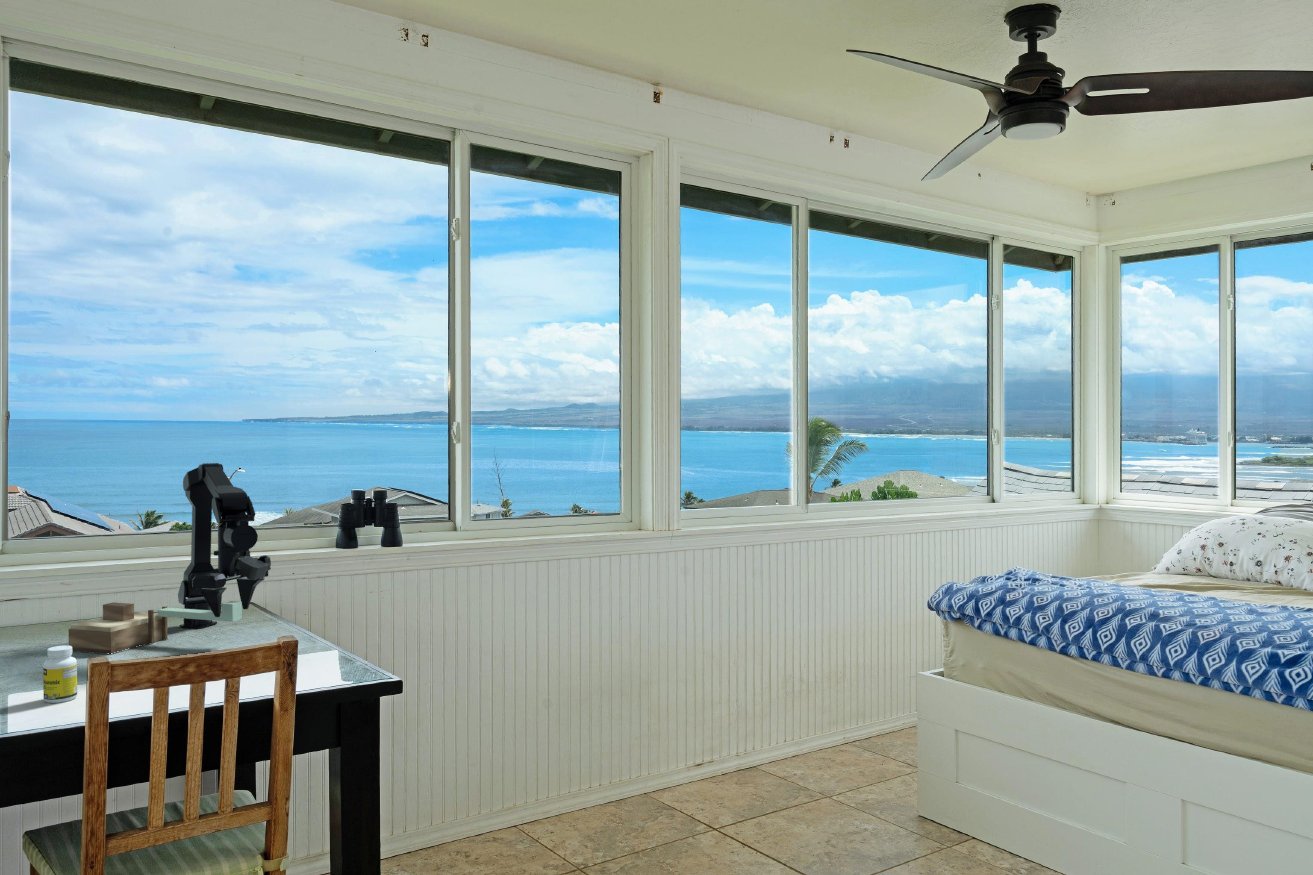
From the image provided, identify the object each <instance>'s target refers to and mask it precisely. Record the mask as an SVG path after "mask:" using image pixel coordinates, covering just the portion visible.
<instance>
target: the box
mask: <svg viewBox="0 0 1313 875" xmlns="http://www.w3.org/2000/svg"><path fill="white" fill-rule="evenodd" d="M164 608H168V606H162V607H161V609H164ZM147 613H148V622H147V623H143V624H140V625H136V626H132V627H128V628H124V629H120V630H117V631H113V632H104V631H91V630H78V629H70V628H68V646H72V652H76V651H80V652H79V653H88V652H94V653H93V654H100V653H109V654H108V655H112V654H111V653H114V652H117V651H121V652H123V651H122V650H125V649H128V648H132V649H134V648H133V647H135V648H137V647H136V646H139V645H142V646H145V645H144V644H146V645H149V644H148V643H154V644H155V642H154V641H156V642H158V640H160V641H162V640H161V639H168V637H169V636H168V635H169V634H168V617H162V619H159V620H155V621H154V613H155V612H154V609H149V610H147ZM168 640H169V639H168ZM139 647H140V646H139ZM128 650H129V649H128ZM125 651H126V650H125Z"/></svg>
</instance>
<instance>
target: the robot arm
mask: <svg viewBox="0 0 1313 875" xmlns="http://www.w3.org/2000/svg"><path fill="white" fill-rule="evenodd" d="M182 488H183V491H184V494H185V497H186V498H187V500H188V502H189V503H190V505H191V546H190V548H191V550H190V551H191V552H190V563H189V565H188V566H187V568H185V570H184V572H183V580H181V582H180V585H179V590H178V593H177V598H178V600H177V601H178V603H179V604H181V605H182V606H183V607H184V608H183V609H195V610H210V611H212V612H213V614H214V616H215V617H220V614H221V611H222V597H223V596H222V595H223V594H224V592H225V591H226V590H227V587H225V586H226V583H227V582H228V581H233V580H235V581H236V584H237V589H238V593H239V598H240V602H242V610H248V609H249V608H250V607H249V606H250V605H251V601H252V597H253V595H254V593H255V590H256V588H257V586H259V584H260V583H262V582H263V581H265V578H266V577H268V576H269V571H271V569H272V567H271V565H272V562H271V557H270V556H268V555H266V554H265V555H260V556H259V557H252V556H251V551H250V549H252V548H253V547H255V546H256V545H257V542H258V540H259V535H258V533H257V530H256V529H255V528H254V527H253V526H251V525H249V522H255V517H256V510H255V508H254V505H253V501H252V500H251V498H250V496H249V495H248V494H247V492H246V491H245V490H244V489H243V488H241V487H237V486H234V485H233V484H232V482H231V480H230V478H229V477H228V475H227V474H226V473H225V470H224V466H223V464H222V463H219V462H212V463H211V462H206V463H205V462H204V463H201V464H199V465H198V467H195V468H194V469H191V470H189V471H187V472H186V473H185V475H184V477H183V480H182ZM213 516H214V518H215V521H216V524H217V549H216V550H213V556H217V568H214V566H213V565H212V560H211V559H212V528H213V527H212V526H213V525H212V522H213V521H212V520H213ZM216 624H218V621H216V620H202V619H187V618H183V623H181V624H179V625H178V626H179V628H188V629H203V628H206V627H207V628H208V627H211V626H213V625H216Z"/></svg>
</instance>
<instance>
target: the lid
mask: <svg viewBox="0 0 1313 875" xmlns="http://www.w3.org/2000/svg"><path fill="white" fill-rule="evenodd" d="M159 619H162V617H159V616H158V612H156V613H155V612H154V621H155V620H159ZM147 622H148V612H141V611H139V612H138V611H135V603H130V602H129V603H127V602H116V601H115V602H113V601H112V602H108V603H105V604H102V616H100V617H96V618H92V619H87V620H83V621H79V622H76V623H71V624H70V625H69V629H78V630H91V631H104V632H113V631H117V630H120V629H124V628H128V627H132V626H136V625H140V624H143V623H147Z"/></svg>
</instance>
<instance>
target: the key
mask: <svg viewBox="0 0 1313 875" xmlns="http://www.w3.org/2000/svg"><path fill="white" fill-rule="evenodd" d="M242 611H243V607H242V602H241V601H235V600H233V601H232V600H231V601H226V602H223V603H222V602H221V614H220V617H215V616H214V614H213V612H212V611H210V610H195V609H184V608H177V607H167V608H164V609H162V608H160V609H158V610H157V613H158V616H159V617H167V618H175V619H176V618H177V619H184V618H187V619H202V620H212V621H217V622H231V623H232V622H236V621H237V622H238V621H240V620H243V617H242V616H243V612H242Z"/></svg>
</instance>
